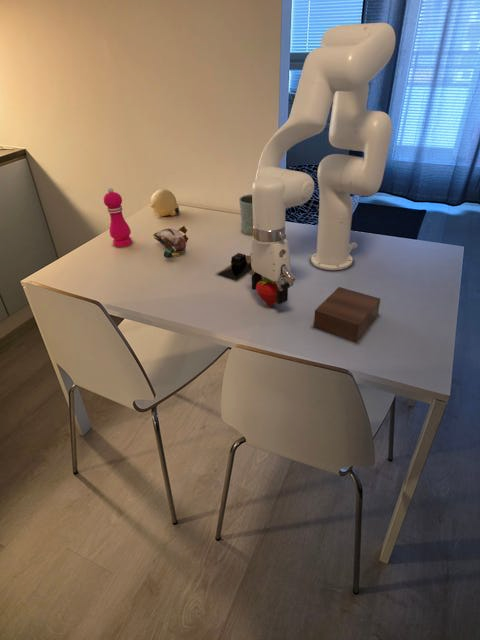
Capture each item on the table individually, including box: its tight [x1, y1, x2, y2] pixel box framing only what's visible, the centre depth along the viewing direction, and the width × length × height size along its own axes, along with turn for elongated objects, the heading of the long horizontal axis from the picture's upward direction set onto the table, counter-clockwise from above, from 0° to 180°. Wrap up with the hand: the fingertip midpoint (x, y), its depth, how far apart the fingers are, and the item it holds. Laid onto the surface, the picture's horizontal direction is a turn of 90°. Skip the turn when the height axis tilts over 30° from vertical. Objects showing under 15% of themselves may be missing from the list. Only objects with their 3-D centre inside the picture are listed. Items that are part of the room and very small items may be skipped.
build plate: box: [217, 252, 250, 281], centre depth 126 cm, size 12×7×5 cm, turn 143°
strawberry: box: [255, 276, 284, 307], centre depth 106 cm, size 6×8×10 cm
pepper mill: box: [103, 187, 132, 248], centre depth 142 cm, size 7×7×20 cm
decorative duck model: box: [152, 225, 190, 259], centre depth 137 cm, size 15×8×15 cm
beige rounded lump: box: [149, 188, 180, 218], centre depth 167 cm, size 10×12×11 cm
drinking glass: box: [238, 193, 253, 236], centre depth 148 cm, size 10×10×12 cm
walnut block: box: [313, 286, 382, 343], centre depth 100 cm, size 13×11×5 cm
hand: (269, 294), depth 107 cm, fingers open, 9 cm apart
